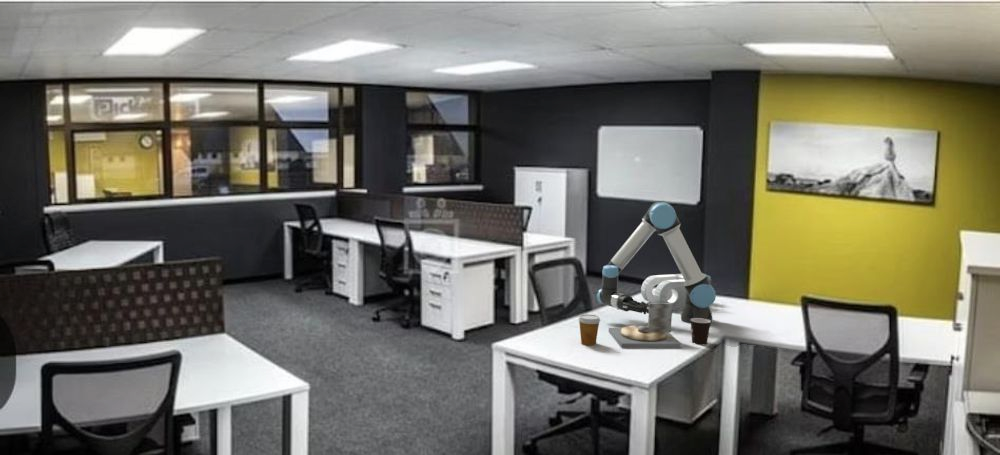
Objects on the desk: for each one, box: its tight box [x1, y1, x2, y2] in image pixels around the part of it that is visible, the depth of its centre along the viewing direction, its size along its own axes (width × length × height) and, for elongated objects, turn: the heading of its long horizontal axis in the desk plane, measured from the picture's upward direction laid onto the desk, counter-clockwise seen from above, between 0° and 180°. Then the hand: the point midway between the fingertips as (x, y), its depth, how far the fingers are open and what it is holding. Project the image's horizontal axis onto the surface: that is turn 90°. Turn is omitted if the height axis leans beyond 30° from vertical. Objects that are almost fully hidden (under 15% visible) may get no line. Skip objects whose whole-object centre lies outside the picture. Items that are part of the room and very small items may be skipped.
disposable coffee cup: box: [578, 313, 601, 346], centre depth 312 cm, size 10×10×12 cm
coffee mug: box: [690, 318, 711, 346], centre depth 318 cm, size 12×9×10 cm
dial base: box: [608, 327, 682, 349], centre depth 320 cm, size 26×26×2 cm
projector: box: [640, 273, 686, 311], centre depth 390 cm, size 35×19×15 cm, turn 109°
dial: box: [621, 302, 673, 341], centre depth 319 cm, size 22×20×14 cm
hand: (658, 313), depth 320 cm, fingers closed
